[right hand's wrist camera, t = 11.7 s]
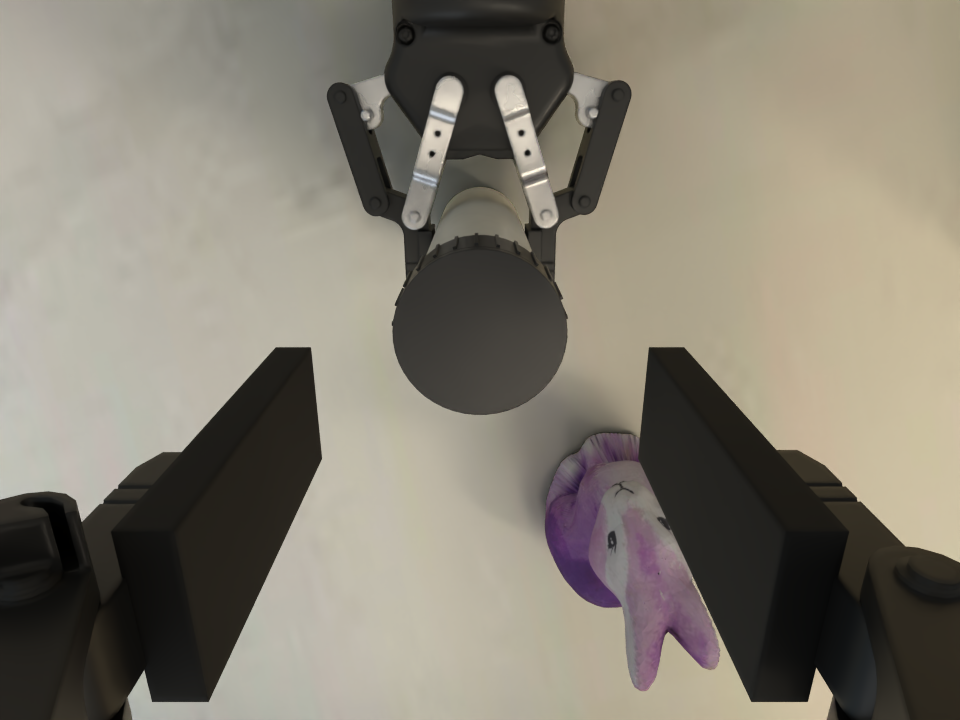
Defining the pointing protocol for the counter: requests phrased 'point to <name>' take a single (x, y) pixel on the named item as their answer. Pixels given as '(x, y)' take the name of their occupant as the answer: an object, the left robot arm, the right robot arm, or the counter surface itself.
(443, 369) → the lid
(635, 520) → the figurine
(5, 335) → the counter surface
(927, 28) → the counter surface
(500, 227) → the jar
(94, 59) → the counter surface
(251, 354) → the counter surface
